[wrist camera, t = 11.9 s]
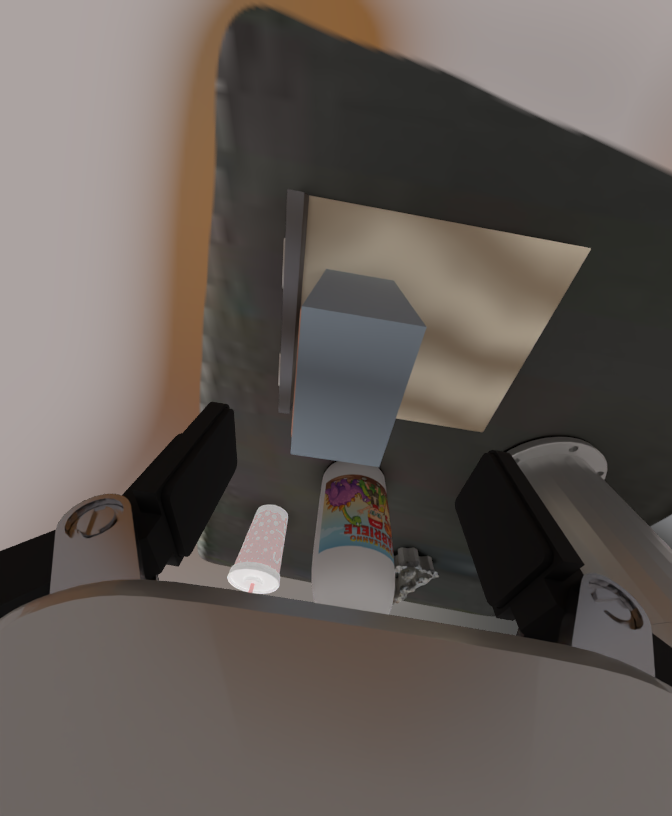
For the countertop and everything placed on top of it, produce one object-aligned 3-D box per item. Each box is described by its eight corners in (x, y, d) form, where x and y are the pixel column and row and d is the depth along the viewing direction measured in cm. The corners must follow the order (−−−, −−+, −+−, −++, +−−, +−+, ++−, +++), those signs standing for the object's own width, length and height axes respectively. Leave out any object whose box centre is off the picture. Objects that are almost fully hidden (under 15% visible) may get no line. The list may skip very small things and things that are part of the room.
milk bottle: (371, 503, 37) (384, 733, 20) (315, 489, 36) (282, 719, 19) (394, 465, 32) (436, 717, 16) (333, 448, 31) (308, 696, 15)
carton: (370, 376, 24) (379, 467, 15) (312, 367, 24) (287, 453, 15) (393, 280, 20) (426, 327, 11) (323, 268, 20) (296, 305, 11)
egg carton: (388, 580, 49) (390, 606, 45) (359, 563, 46) (359, 590, 43) (439, 560, 44) (446, 588, 41) (409, 541, 41) (414, 569, 38)
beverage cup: (290, 530, 41) (264, 649, 30) (249, 522, 41) (208, 640, 29) (296, 506, 38) (271, 630, 26) (253, 497, 37) (207, 619, 26)
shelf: (477, 423, 28) (491, 445, 25) (284, 392, 28) (276, 411, 25) (576, 246, 19) (615, 250, 16) (295, 194, 19) (283, 188, 16)
